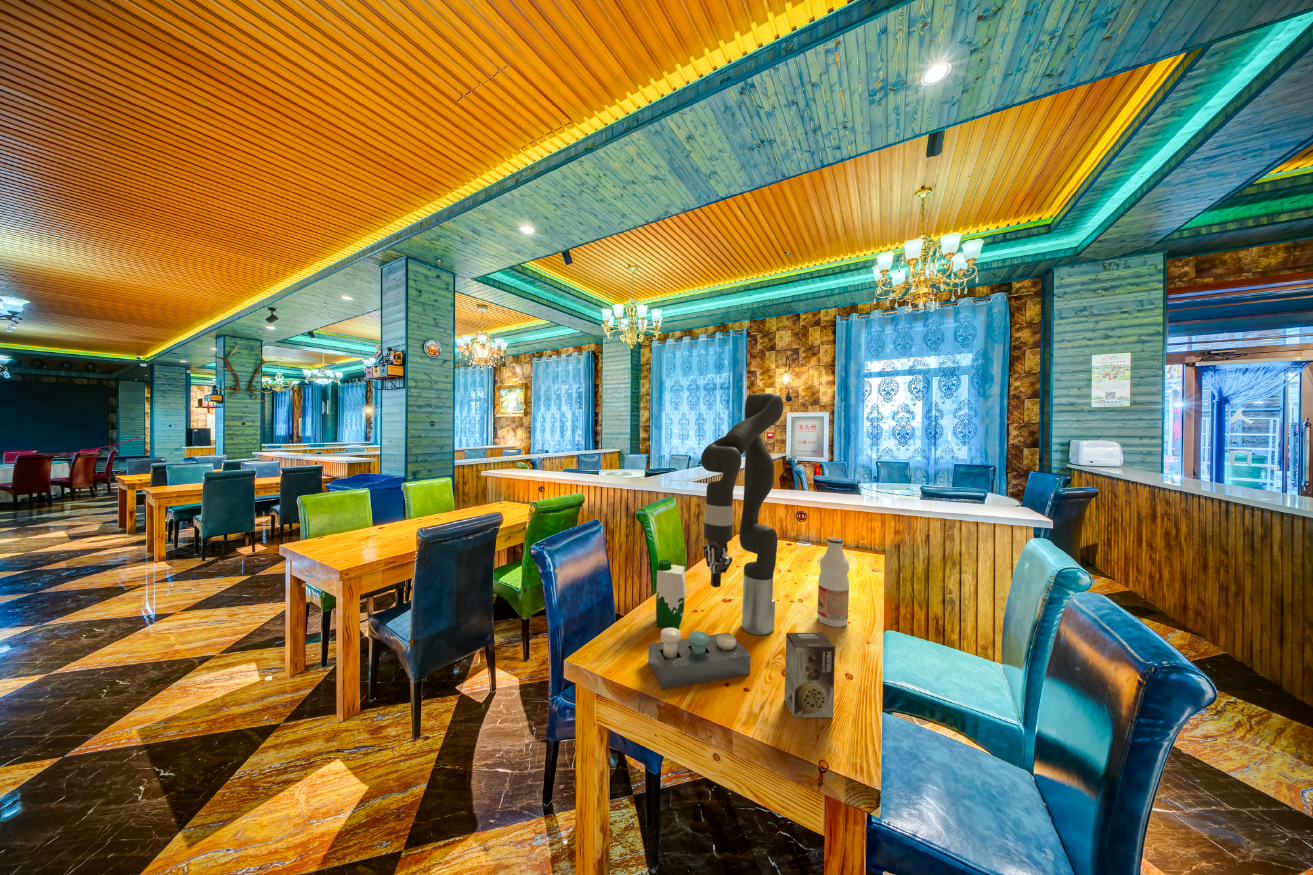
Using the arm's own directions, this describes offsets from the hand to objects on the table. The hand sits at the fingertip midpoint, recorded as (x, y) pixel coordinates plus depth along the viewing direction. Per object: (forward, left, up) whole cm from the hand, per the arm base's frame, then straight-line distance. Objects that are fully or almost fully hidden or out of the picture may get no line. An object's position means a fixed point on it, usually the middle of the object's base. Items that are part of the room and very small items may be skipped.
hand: (715, 586), depth 107 cm
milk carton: (+3, -25, -22) cm, 34 cm away
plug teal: (+4, 0, -19) cm, 19 cm away
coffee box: (-14, +21, -22) cm, 33 cm away
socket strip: (+4, 0, -22) cm, 22 cm away
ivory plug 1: (+12, 0, -17) cm, 21 cm away
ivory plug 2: (-4, 0, -21) cm, 21 cm away
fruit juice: (-51, -13, -22) cm, 57 cm away
